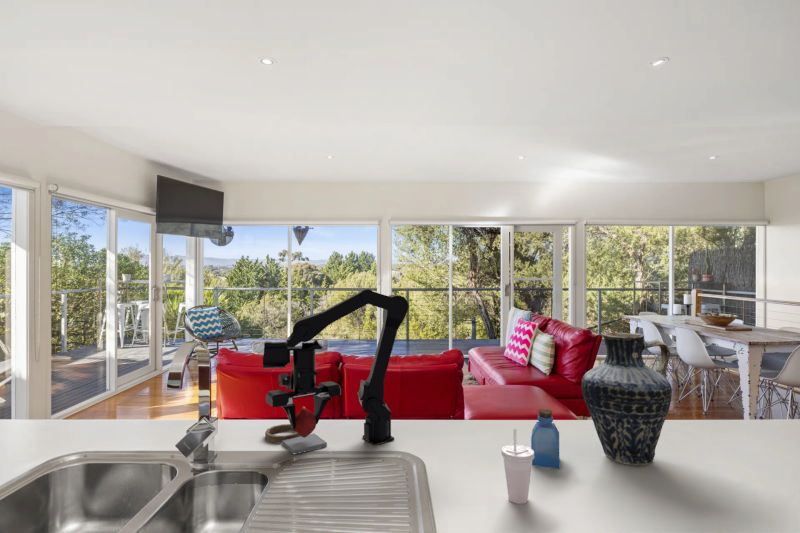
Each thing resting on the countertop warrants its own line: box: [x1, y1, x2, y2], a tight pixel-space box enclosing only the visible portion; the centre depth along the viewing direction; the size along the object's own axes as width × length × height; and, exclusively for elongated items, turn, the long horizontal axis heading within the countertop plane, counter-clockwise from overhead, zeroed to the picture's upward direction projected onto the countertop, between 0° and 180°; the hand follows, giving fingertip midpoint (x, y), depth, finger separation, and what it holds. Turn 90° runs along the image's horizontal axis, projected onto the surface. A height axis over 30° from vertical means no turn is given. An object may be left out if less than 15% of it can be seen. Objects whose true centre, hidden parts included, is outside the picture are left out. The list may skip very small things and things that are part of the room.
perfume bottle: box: [530, 408, 560, 470], centre depth 107 cm, size 6×6×12 cm
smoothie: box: [501, 427, 534, 505], centre depth 90 cm, size 6×6×14 cm
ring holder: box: [264, 423, 300, 444], centre depth 125 cm, size 10×10×2 cm
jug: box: [581, 331, 673, 466], centre depth 109 cm, size 21×19×30 cm
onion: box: [294, 406, 317, 438], centre depth 118 cm, size 6×6×8 cm
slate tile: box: [282, 432, 328, 454], centre depth 118 cm, size 9×8×1 cm
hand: (304, 426), depth 118 cm, fingers closed on onion, 6 cm apart
